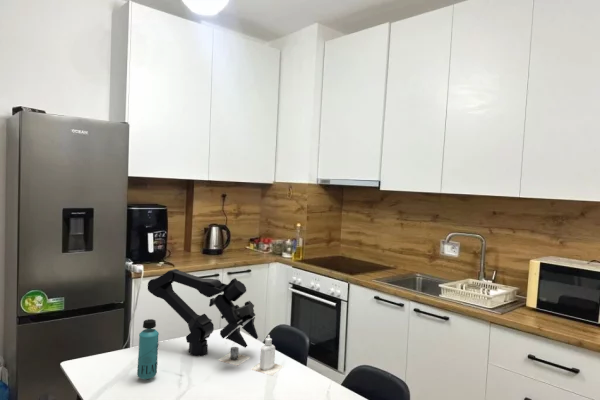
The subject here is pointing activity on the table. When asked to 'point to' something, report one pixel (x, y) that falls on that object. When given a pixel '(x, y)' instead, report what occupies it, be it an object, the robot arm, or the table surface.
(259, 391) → the table surface
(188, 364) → the table surface
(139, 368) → the beverage bottle
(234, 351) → the metal pin
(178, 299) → the robot arm
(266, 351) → the eye dropper bottle
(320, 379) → the table surface
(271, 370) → the board
